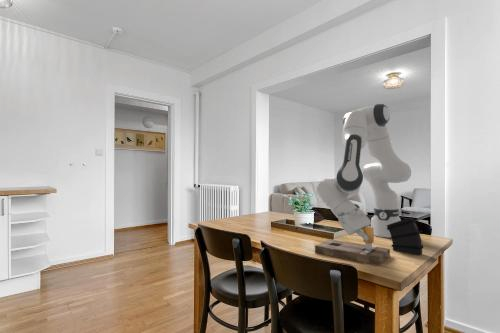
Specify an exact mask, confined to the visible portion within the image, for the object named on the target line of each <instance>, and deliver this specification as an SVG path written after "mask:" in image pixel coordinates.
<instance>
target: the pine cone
mask: <svg viewBox="0 0 500 333" xmlns="http://www.w3.org/2000/svg"><path fill="white" fill-rule="evenodd" d="M313 211H314V212H315V213H314V223H313V224H317V223H320V222H322V221H325V217H324V216H323V215H322V214H321V213H319V212H318V211H316V210H314V209H313Z"/></svg>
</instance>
